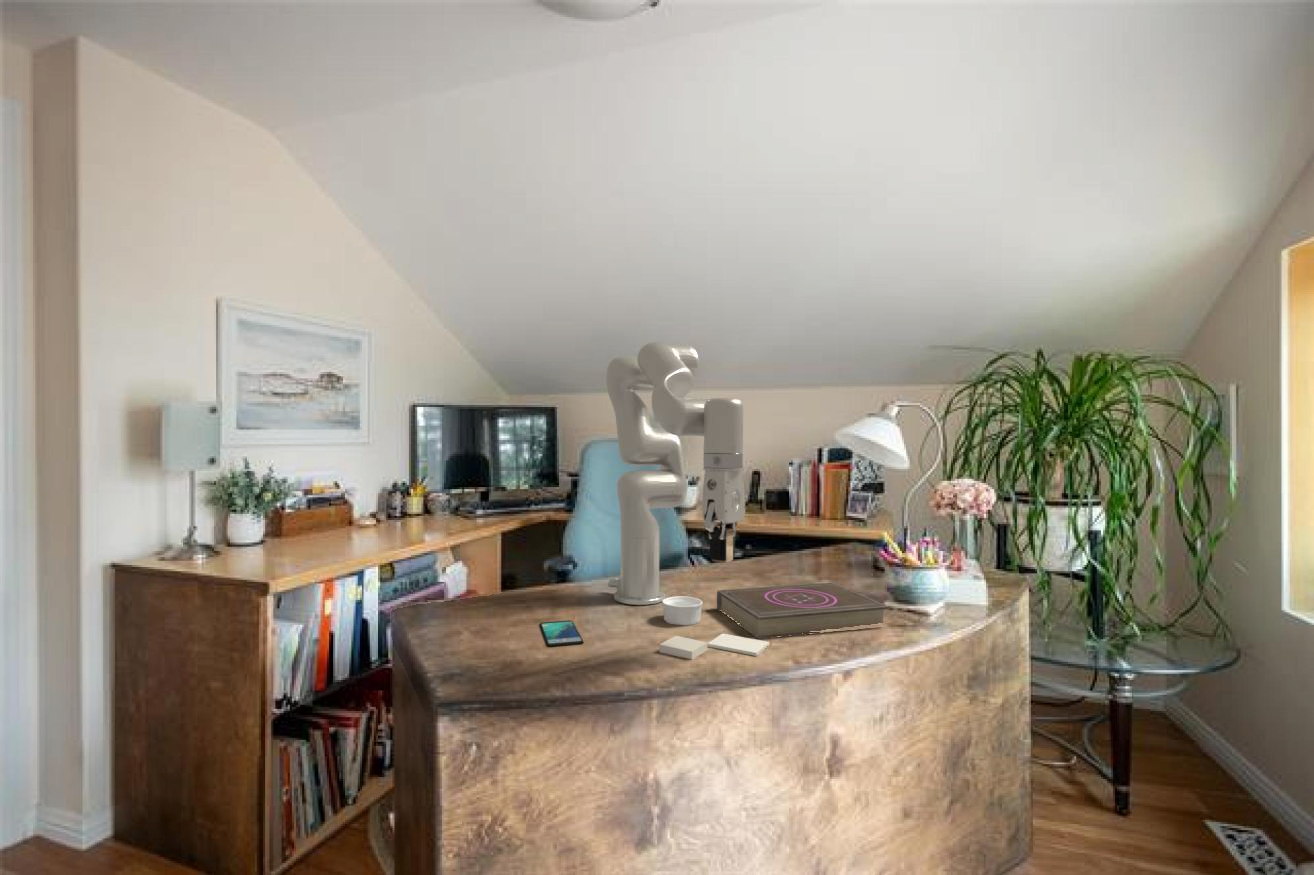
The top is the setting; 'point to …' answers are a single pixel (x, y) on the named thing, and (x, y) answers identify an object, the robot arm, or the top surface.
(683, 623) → the ramekin
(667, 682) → the top surface
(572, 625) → the smartphone
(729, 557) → the small cardboard box
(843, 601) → the book
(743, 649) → the mat
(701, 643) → the tile
